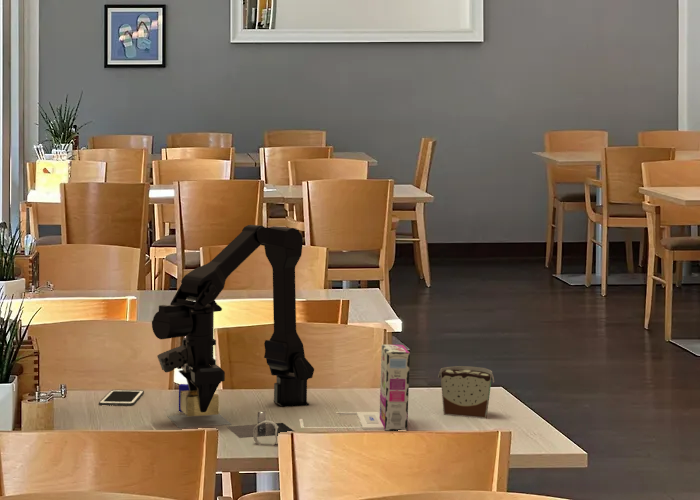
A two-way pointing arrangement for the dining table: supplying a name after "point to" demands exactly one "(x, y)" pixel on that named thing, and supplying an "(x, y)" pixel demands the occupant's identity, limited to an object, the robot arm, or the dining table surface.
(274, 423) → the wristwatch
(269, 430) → the stand
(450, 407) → the food container
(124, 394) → the cell phone
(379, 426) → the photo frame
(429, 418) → the dining table surface
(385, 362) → the candy bar box
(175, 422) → the coaster
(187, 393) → the tan wooden block
